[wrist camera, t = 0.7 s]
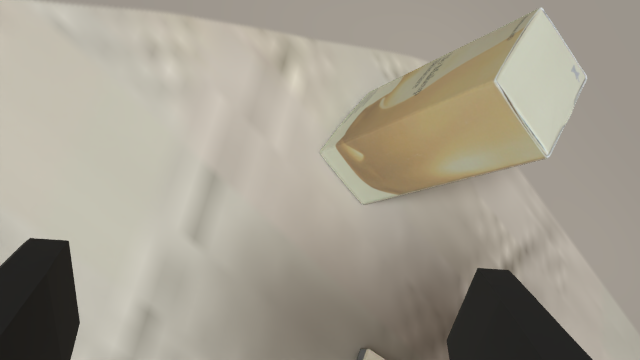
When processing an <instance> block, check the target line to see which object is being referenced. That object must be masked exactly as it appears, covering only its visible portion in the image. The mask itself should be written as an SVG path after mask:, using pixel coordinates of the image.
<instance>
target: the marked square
mask: <svg viewBox="0 0 640 360" xmlns="http://www.w3.org/2000/svg"><path fill="white" fill-rule="evenodd" d="M357 360H385V359H384V358H382V357H381V356H379V355H378V354H376V353H375V352H373V351H371V350H370V349H360V352H359V355H358V358H357Z"/></svg>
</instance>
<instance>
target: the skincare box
mask: <svg viewBox="0 0 640 360" xmlns="http://www.w3.org/2000/svg"><path fill="white" fill-rule="evenodd" d="M586 81H587V76H586V74H585V72H584V71H583V70H582V68H581V67H580V65H579V64H578V62H577V60H576V59H575V58H574V56H573V54H572V53H571V51H570V50H569V48H568V46H567V45H566V43H565V42H564V40H563V38H562V37H561V35H560V34H559V32H558V31H557V29H556V28H555V26H554V25H553V23H552V22H551V20H550V19H549V17H548V16H547V15H546V13H545V11H544V10H543V8H539V9H537V10H535V11H533V12H531V13H529V14H527V15H525V16H523V17H521V18H519V19H517V20H515V21H513V22H511V23H509V24H507V25H505V26H503V27H501V28H499V29H497V30H495V31H493V32H491V33H489V34H487V35H485V36H483V37H481V38H479V39H477V40H475V41H473V42H471V43H469V44H467V45H465V46H462V47H460V48H458V49H456V50H454V51H453V52H450V53H448V54H446V55H444V56H442V57H440V58H438V59H436V60H434V61H432V62H430V63H428V64H426V65H424V66H422V67H420V68H418V69H416V70H414V71H412V72H410V73H408V74H406V75H404V76H402V77H399V78H397V79H395V80H393V81H391V82H389V83H387V84H385V85H383V86H381V87H379V88H377V89H375V90H373V91H371V92H369V93H368V94H367V95H366V96H365V97H364V98H363V99H362V101H361V102H360V103H359V104H358V105H357V106H356V107H355V108H354V109H353V111H352V112H351V113H350V114H349V115H348V116H347V118H346V119H345V120H344V121H343V122H342V124H341V125H340V126H339V127H338V129H337V130H336V131H335V132H334V134H333V135H332V136H331V137H330V139H329V140H328V141H327V143H326V144H325V145H324V147H323V148H322V149H321V151H320V154H321V156H322V157H323V158H324V159H325V160H326V162H327V163H328V164H329V165H330V167H331V168H332V169H333V170H334V172H335V173H336V174H337V175H338V177H339V178H340V179H341V180H342V181H343V183H344V184H345V185H346V186H347V187H348V189H349V190H350V191H351V192H352V193H353V194H354V196H355V197H356V198H357V199H358V200H359V201H360V203H361V204H363V205H365V204H370V203H373V202H377V201H381V200H385V199H389V198H393V197H397V196H401V195H405V194H409V193H413V192H417V191H421V190H424V189H428V188H433V187H437V186H440V185H444V184H448V183H452V182H456V181H460V180H464V179H468V178H472V177H476V176H480V175H484V174H487V173H491V172H495V171H499V170H503V169H507V168H511V167H515V166H519V165H523V164H527V163H531V162H535V161H539V160H543V159H547V158H549V157H550V155H551V153H552V151H553V149H554V147H555V145H556V142H557V140H558V138H559V136H560V134H561V132H562V130H563V128H564V126H565V124H566V123H567V121H568V120H569V118H570V116H571V113H572V111H573V108H574V105H575V103H576V101H577V99H578V97H579V94H580V92H581V90H582V88H583V86H584V84H585V82H586Z"/></svg>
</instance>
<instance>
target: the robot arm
mask: <svg viewBox="0 0 640 360" xmlns="http://www.w3.org/2000/svg"><path fill="white" fill-rule="evenodd" d="M79 324H80V321H79V314H78V306H77V299H76V291H75V284H74V277H73V269H72V262H71V254H70V247H69V241H64V240H49V239H34V238H30V239H29V240H27V241H26V242H25V243H23V244H22V245H21V246H20V247H19V248H18V249H17V250H16V251H15V252H14V253H13V254H12V255H11V256H10V257H9V258H8V259H7V260H6V261H5V262H4V263H3V264H2V265H1V266H0V360H70V359H71V355H72V352H73V348H74V344H75V340H76V336H77V332H78V328H79ZM447 345H448V352H449V358H450V360H592V358H591V357H590V356H589V355H588V354H587V353H586V352H585V351H584V350H583V349H582V348H581V347H580V346H579V345H578V344H577V343H576V342H575V341H574V339H573V338H572V337H571V336H570V335H569V334H568V333H567V332H566V331H565V330H564V329H563V328H562V327H561V326H560V324H559V323H558V322H557V321H556V320H555V319H554V318H553V317H552V316H551V315H550V314H549V312H548V311H547V310H546V309H545V308H544V307H543V306H542V305H541V304H540V303H539V302H538V301H537V299H536V298H535V297H534V296H533V295H532V294H531V293H530V292H529V291H528V290H527V289H526V288H525V286H524V285H523V284H522V283H521V282H520V281H519V280H518V279H517V278H516V277H515V276H514V275H513V274H512V273H511V272H510V271H509V270H498V269H483V268H477V271H476V273H475V275H474V278H473V280H472V282H471V285H470V287H469V289H468V292H467V294H466V296H465V299H464V301H463V303H462V306H461V308H460V310H459V313H458V315H457V317H456V320H455V322H454V324H453V327H452V329H451V331H450V334H449V336H448V338H447Z"/></svg>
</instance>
